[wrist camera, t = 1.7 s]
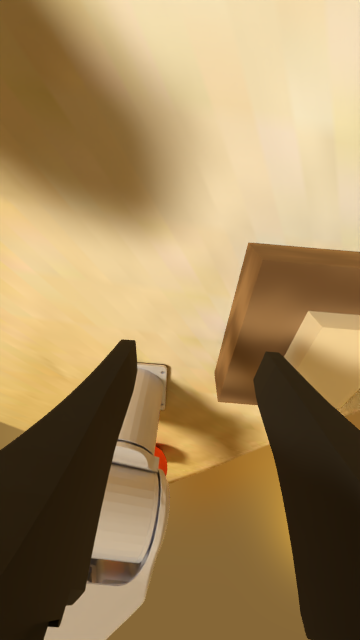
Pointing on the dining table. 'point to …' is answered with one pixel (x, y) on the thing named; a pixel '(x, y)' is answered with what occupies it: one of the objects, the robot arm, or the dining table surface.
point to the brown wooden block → (280, 307)
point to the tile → (328, 354)
